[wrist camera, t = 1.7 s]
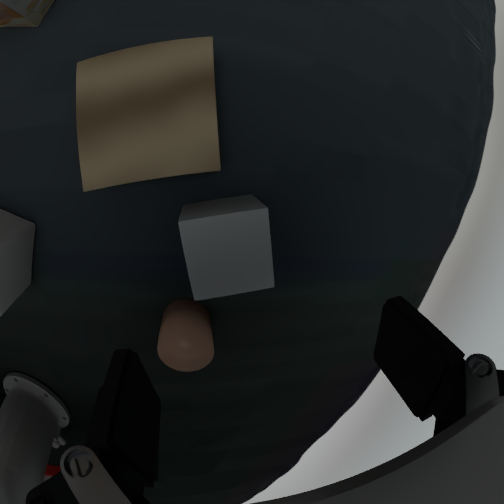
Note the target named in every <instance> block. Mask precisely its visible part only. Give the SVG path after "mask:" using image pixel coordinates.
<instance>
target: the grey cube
mask: <svg viewBox="0 0 504 504" xmlns="http://www.w3.org/2000/svg"><path fill="white" fill-rule="evenodd" d="M178 225H179V230H180V235H181V240H182V246H183V251H184V255H185V260H186V265H187V270H188V274H189V279H190V283H191V288H192V292H193V296H194V301H198V300H204V299H210V298H216V297H222V296H228V295H234V294H239V293H245V292H250V291H256V290H261V289H267V288H272V287H275V286H274V274H273V261H272V249H271V237H270V226H269V215H268V208H267V207H266V206H265V205H264V204H263V203H262V202H260V201H259V200H258V199H257V198H256V197H255V196H253V195H252V194H250V195H243V196H235V197H229V198H222V199H215V200H209V201H203V202H196V203H190V204H185V205H183V207H182V210H181V213H180V217H179V220H178Z"/></svg>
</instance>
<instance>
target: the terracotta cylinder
mask: <svg viewBox="0 0 504 504" xmlns="http://www.w3.org/2000/svg"><path fill="white" fill-rule="evenodd" d="M157 351H158V355H159V357H160V359H161V360H162V361H163V362H164V363H165V364H166V365H167V366H169V367H171V368H173V369H175V370H179V371H186V372H189V371H196V370H199V369H202V368H204V367H205V366H207V365H208V364H209V363H210V362H211V360H212V359H213V356H214V345H213V336H212V327H211V317H210V314H209V312H208V310H207V309H206V307H205V306H203V305H202V304H201V303H199V302H197V301H194V300H191V299H180V300H176V301H174V302H172V303H170V304H169V305H168V306H167V307H166V308H165V310H164V312H163V315H162V321H161V327H160V333H159V340H158V346H157Z"/></svg>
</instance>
